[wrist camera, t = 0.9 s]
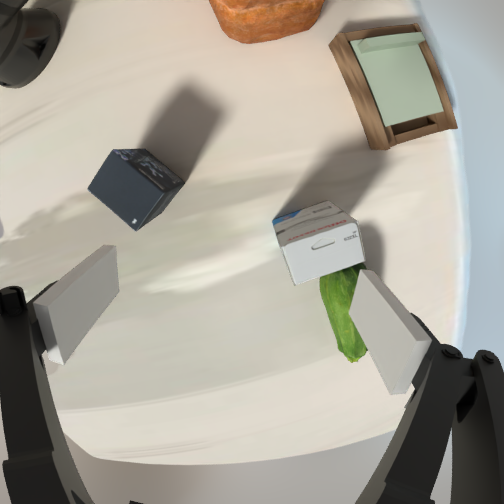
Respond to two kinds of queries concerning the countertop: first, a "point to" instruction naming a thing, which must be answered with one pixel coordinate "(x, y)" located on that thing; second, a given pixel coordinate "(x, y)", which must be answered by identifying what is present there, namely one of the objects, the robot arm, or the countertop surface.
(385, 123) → the lid
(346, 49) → the pencil box
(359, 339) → the vegetable
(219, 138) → the countertop surface
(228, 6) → the bread
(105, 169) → the box
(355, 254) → the ink box
